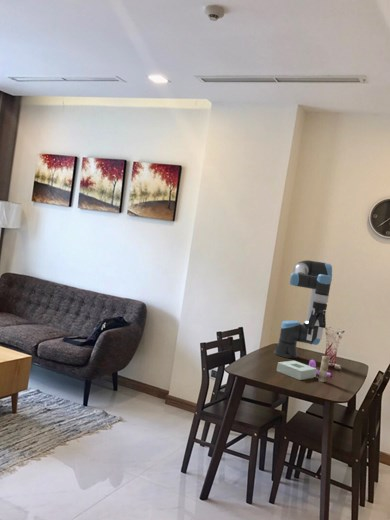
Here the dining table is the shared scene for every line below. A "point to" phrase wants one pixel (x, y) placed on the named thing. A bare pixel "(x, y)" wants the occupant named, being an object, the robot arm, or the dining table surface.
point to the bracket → (313, 364)
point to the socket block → (296, 370)
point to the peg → (323, 368)
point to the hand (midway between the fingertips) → (314, 339)
